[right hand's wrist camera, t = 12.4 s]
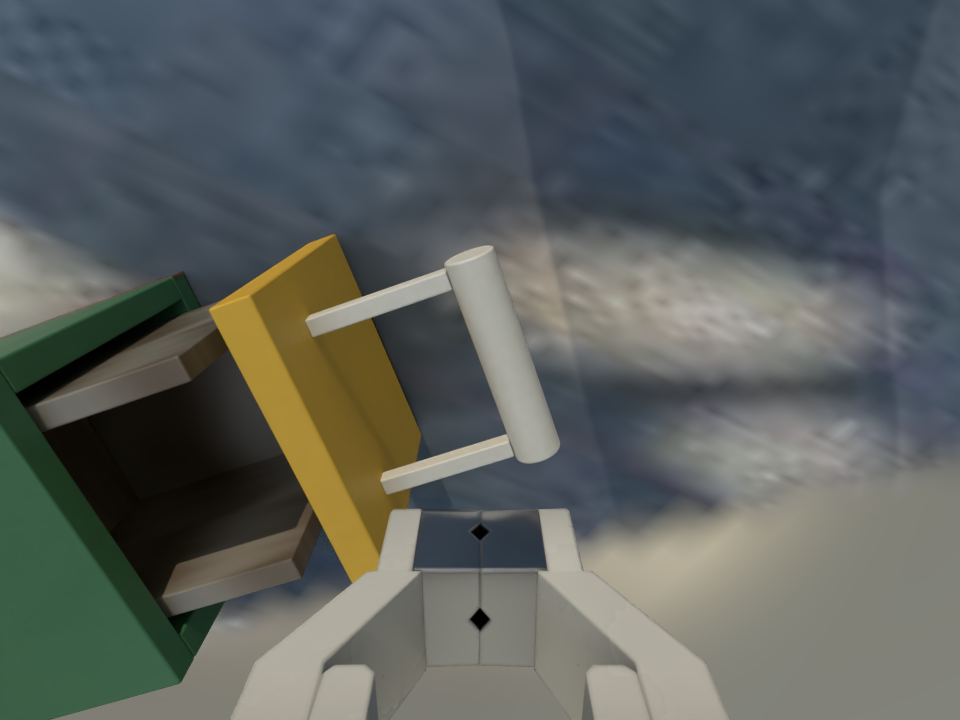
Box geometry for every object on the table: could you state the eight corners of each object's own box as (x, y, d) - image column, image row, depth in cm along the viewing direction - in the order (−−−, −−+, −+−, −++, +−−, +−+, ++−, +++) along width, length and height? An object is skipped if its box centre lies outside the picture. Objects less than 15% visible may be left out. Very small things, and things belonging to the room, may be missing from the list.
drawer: (478, 181, 24) (477, 212, 14) (549, 394, 27) (585, 530, 18) (43, 339, 26) (-194, 451, 17) (157, 518, 29) (11, 694, 20)
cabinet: (182, 270, 26) (-37, 374, 15) (292, 478, 29) (181, 684, 18) (-109, 377, 28) (-497, 540, 17) (29, 561, 31) (-215, 794, 20)
